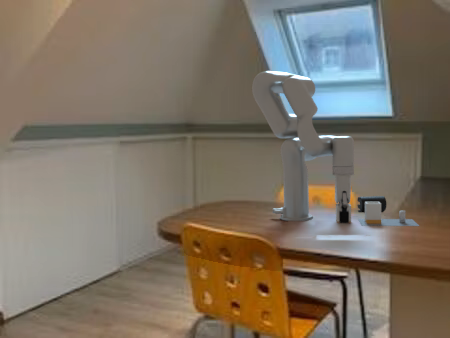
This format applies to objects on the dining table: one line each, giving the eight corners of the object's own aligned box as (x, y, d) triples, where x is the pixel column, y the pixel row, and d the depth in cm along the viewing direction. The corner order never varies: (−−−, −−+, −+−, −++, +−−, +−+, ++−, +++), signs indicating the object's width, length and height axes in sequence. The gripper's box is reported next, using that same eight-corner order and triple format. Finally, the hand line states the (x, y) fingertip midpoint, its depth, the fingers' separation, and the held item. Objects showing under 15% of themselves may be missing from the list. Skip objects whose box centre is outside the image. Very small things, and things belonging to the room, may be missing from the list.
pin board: (361, 229, 175) (361, 214, 175) (358, 223, 187) (358, 208, 186) (419, 230, 172) (419, 214, 172) (412, 223, 184) (412, 208, 183)
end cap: (362, 214, 204) (362, 198, 203) (356, 211, 211) (356, 195, 210) (386, 213, 204) (386, 197, 204) (380, 210, 211) (380, 194, 211)
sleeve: (336, 225, 182) (336, 206, 181) (336, 222, 187) (335, 203, 186) (351, 225, 181) (351, 206, 180) (350, 222, 186) (349, 203, 185)
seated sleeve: (366, 223, 178) (366, 203, 177) (364, 220, 183) (364, 201, 182) (381, 223, 177) (381, 203, 177) (379, 220, 182) (379, 201, 182)
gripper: (331, 168, 191) (331, 216, 193) (333, 173, 174) (334, 225, 176) (351, 168, 190) (352, 216, 191) (356, 173, 173) (356, 225, 175)
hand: (343, 220), depth 184 cm, fingers closed on sleeve, 5 cm apart
